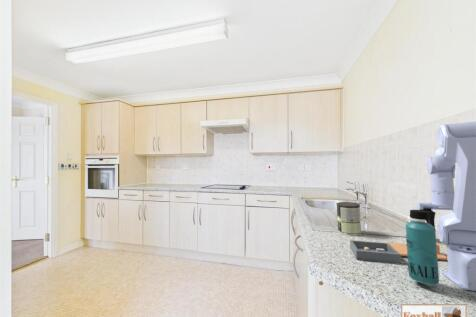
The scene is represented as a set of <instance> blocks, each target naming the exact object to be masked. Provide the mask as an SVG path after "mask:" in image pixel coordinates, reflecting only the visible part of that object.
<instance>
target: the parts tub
mask: <svg viewBox="0 0 476 317" xmlns="http://www.w3.org/2000/svg"><path fill="white" fill-rule="evenodd" d="M389 243H390V242H378V241H363V240H352V239H349V246H350V249H351V251H352V253H353V255H354V257H355V259H356V260H358V261H369V262H379V263H387V264H389V263H390V264H400V265H402V256H401V254H400V253H398V252H397V251H396V250H395V249H394V248H393V247H392V246H391V245H390V244H389Z"/></svg>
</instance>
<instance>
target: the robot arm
mask: <svg viewBox="0 0 476 317" xmlns="http://www.w3.org/2000/svg"><path fill="white" fill-rule="evenodd" d="M437 142H438V144H439V147H438V148H437V149H436V150H435V152H434V155H433V156H432V157H430V156H429V157H428V158H427V160H426V168H427V171H428V173H429V175H430V176H429V177H430V189H431V190H430V191H431V202H417V203H416V207H417V208H418V210H424V211H428V213H429V217H430V219H429V220H426V221H425V222H426V223H429V224H431V225H432V226H433V227H434V228H435V229H436V228H437V229H436V230H437V235H438V240H439V242H440V243H442V244H443V245H445V246H446V254H447V255H446V257H447V259H448V260H447V270H440V273H441V274H443V275H444V276H445V277H447V278H448V279H449V280H450V281H452V282H453V283H454V284H456V285H457V286H458V287H460V288H461V289H463V290H466V291H475V292H476V121H468V122H466V121H465V122H456V123H443V124H441V125H439V127H438V129H437ZM456 164H457V165H456ZM455 173H456V174H455ZM454 179H455V185H454ZM433 210H439V211H440V210H441V211H442V210H443V211H451V212H449V213H446V214H445V215H441V216H440V218H439V222H438V223H437V227H436V224H435V218H436V211H433Z"/></svg>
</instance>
